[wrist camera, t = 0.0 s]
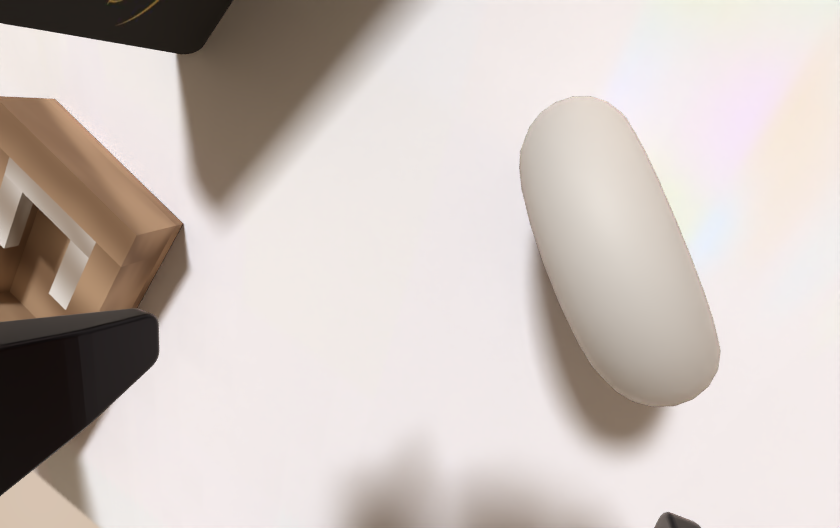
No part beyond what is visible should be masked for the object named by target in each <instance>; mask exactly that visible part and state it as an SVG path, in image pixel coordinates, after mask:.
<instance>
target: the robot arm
mask: <svg viewBox="0 0 840 528" xmlns="http://www.w3.org/2000/svg"><path fill="white" fill-rule="evenodd" d="M158 355H159V323H158V319H157V317H156V316H155V315H153V314H151V313H149V312H146V311H143V310H141V309H136V308H131V309H121V310H112V311H102V312H92V313H82V314H72V315H63V316H53V317H43V318H33V319H23V320H14V321H4V322H0V496H1V495H2V494H3V493H4V492H6V491H7V490H8V489H10V488H11V487H12V486H13V485H15V484H16V483H17V482H19V481H20V480H21V479H22V478H24V477H25V476H26V475H27V474H29V473H30V472H31V471H32V470H34V469H35V468H36V467H37V466H39V465H40V464H41V463H42V462H44V461H45V460H46V459H47V458H49V457H50V456H51V455H52V454H54V453H55V452H56V451H57V450H59V449H60V448H61V447H62V446H64V445H65V444H66V443H68V442H69V441H70V440H71V439H73V438H74V437H75V436H76V435H77V434H79V433H80V432H81V431H82V430H83V429H85V428H86V427H87V426H88V425H89V424H90V423H92V422H93V421H94V420H95V419H96V418H97V417H98V416H99V415H100V414H102V413H103V412H104V411H105V410H106V409H107V408H108V407H109V406H110V405H111V404H112V403H113V402H114V401H115V400H116V399H118V398H119V397H120V396H121V395H122V394H123V393H124V392H125V391H126V390H127V389H128V388H129V387H130V386H131V385H133V384H134V383H135V382H136V381H137V380H138V379H139V378H140V377H141V376H142V375H143V374H144V373H145V372H146V371H148V370H149V369H150V368H151V367H152V366H153V365H154V363H155V362H156V360H157V358H158ZM654 528H701V527H700V526H699V525H698V524H697V523H695V522H693V521H691V520H688V519H686V518H683V517H681V516H678V515H675V514H673V513H670V512H667V513H663V514H662V515H661V516H660V518H659V519H658V521H657V523H656V525H655V527H654Z"/></svg>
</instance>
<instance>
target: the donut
mask: <svg viewBox="0 0 840 528" xmlns="http://www.w3.org/2000/svg"><path fill="white" fill-rule="evenodd" d="M519 169H520V178H521V188H522V193H523V197H524V201H525V205H526V209H527V213H528V217H529V221H530V225H531V228H532V231H533V234H534V237H535V240H536V243H537V246H538V249H539V252H540V255H541V258H542V261H543V264H544V267H545V269H546V272H547V274H548V277H549V279H550V282H551V284H552V287H553V289H554V292H555V294H556V297H557V299H558V302H559V304H560V307H561V309H562V311H563V313H564V315H565V317H566V319H567V321H568V323H569V325H570V327H571V330H572V332H573V334H574V336H575V338H576V340H577V342H578V344H579V345H580V347H581V349H582V350H583V352H584V354H585V355H586V357H587V359H588V360H589V362H590V364H591V365H592V367H593V368H594V369H595V370H596V371H597V372H598V373H599V374H600V375H601V377H602V378H603V379H604V380H605V381H606V382H607V383H608V384H609V385H610V386H611V387H612V388H613V389H614V390H615V391H616V392H618V393H619V394H621V395H623V396H625V397H626V398H628V399H630V400H631V401H633V402H636V403H640V404H644V405H648V406H652V407H664V406H676V405H679V404H681V403H684V402H687V401H690V400H692V399H694V398H695V397H697V396H698V395H699V394H700V393H701V392H703V391H704V390H705V389H706V388H708V387H709V385H710V383H711V381H712V380H713V378H714V376H715V374H716V373H717V371H718V367H719V359H720V346H719V341H718V337H717V333H716V329H715V325H714V321H713V317H712V314H711V311H710V308H709V305H708V302H707V299H706V296H705V293H704V290H703V287H702V285H701V282H700V279H699V277H698V274H697V271H696V269H695V266H694V263H693V261H692V258H691V255H690V253H689V251H688V248H687V246H686V243H685V241H684V238H683V236H682V233H681V231H680V228H679V226H678V223H677V221H676V218H675V216H674V214H673V211H672V209H671V207H670V205H669V202H668V200H667V198H666V195H665V193H664V191H663V188H662V186H661V184H660V182H659V179H658V177H657V175H656V173H655V171H654V169H653V167H652V164H651V162H650V160H649V158H648V156H647V154H646V152H645V150H644V148H643V146H642V144H641V142H640V141H639V139H638V137H637V135H636V133H635V132H634V130H633V128H632V127H631V125H630V123H629V122H628V120H627V118H626V117H625V116H624V115H623V114H622V113H621V112H620V111H619V110H618V109H616V108H615V107H614V106H612V105H611V104H610V103H609V102H607V101H604V100H600V99H597V98H594V97H591V96H578V97H570V98H567V99H564V100H561V101H558V102H555V103H554V104H552V105H551V106H549V107H548V108H547V109H545V110H544V111H542V112H541V113H540V114H539V115H538V117H537V118H536V119H535V120H534V122H533V123H532V124H531V126H530V127H529V130H528V132H527V135H526V137H525V140H524V142H523V145H522V148H521V150H520V166H519Z"/></svg>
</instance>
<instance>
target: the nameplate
mask: <svg viewBox="0 0 840 528" xmlns="http://www.w3.org/2000/svg"><path fill="white" fill-rule="evenodd" d="M232 1H233V0H0V23H3V24H8V25H14V26H21V27H27V28H33V29H38V30H44V31H50V32H56V33H62V34H67V35H73V36H79V37H85V38H91V39H96V40H102V41H108V42H114V43H119V44H125V45H131V46H137V47H143V48H148V49H154V50H160V51H166V52H172V53H177V54H190V53H193V52H196V51H198V50H199V49H201V48H202V47H203V45H204V44H205V42H206V41H207V39H208V38H209V36H210V35H211V33H212V32H213V30H214V29H215V27H216V25H217V24H218V22H219V21H220V19H221V18H222V16H223V15H224V13H225V12H226V10H227V9H228V7H229V6H230V4H231V2H232Z"/></svg>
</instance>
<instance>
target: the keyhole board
mask: <svg viewBox="0 0 840 528" xmlns="http://www.w3.org/2000/svg"><path fill="white" fill-rule="evenodd" d="M182 225H183V223H182V222H181V221H180V220H179V219H178V218H177V217H176V216H175V215H174V214H173V213H172V212H171V211H169V210H168V209H167V208H166V207H165V206H164V205H163V204H162V203H161V202H160V201H159V200H158V199H157V198H156V197H155V196H154V195H153V194H152V193H151V192H150V191H149V190H148V189H147V188H146V187H145V186H144V185H143V184H142V183H141V182H140V181H139V180H138V179H137V178H136V177H135V176H133V175H132V174H131V173H130V172H129V171H128V170H127V169H126V168H125V167H124V166H123V165H122V164H121V163H120V162H119V161H118V160H117V159H116V158H115V157H114V156H113V155H112V154H111V153H110V152H109V151H108V150H107V149H106V148H105V147H104V146H103V145H102V144H101V143H100V142H98V141H97V140H96V139H95V138H94V137H93V136H92V135H91V134H90V133H89V132H88V131H87V130H86V129H85V128H84V127H83V126H82V125H81V124H80V123H79V122H78V121H77V120H76V119H75V118H74V117H73V116H72V115H71V114H70V113H69V112H68V111H67V110H66V109H65V108H64V107H62V106H61V105H60V104H59V103H58V102H57V101H56V100H55V99H44V98H23V97H1V96H0V322H4V321H14V320H23V319H33V318H43V317H53V316H63V315H72V314H82V313H92V312H102V311H112V310H121V309H131V308H136V309H137V307H138V305H139V303H140V302H141V300H142V298H143V296H144V294H145V292H146V291H147V289H148V287H149V285H150V283H151V282H152V280H153V278H154V276H155V274H156V272H157V271H158V269H159V267H160V265H161V263H162V261H163V260H164V258H165V256H166V254H167V252H168V250H169V249H170V247H171V245H172V243H173V241H174V239H175V238H176V236H177V234H178V232H179V230H180V228H181V227H182Z"/></svg>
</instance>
